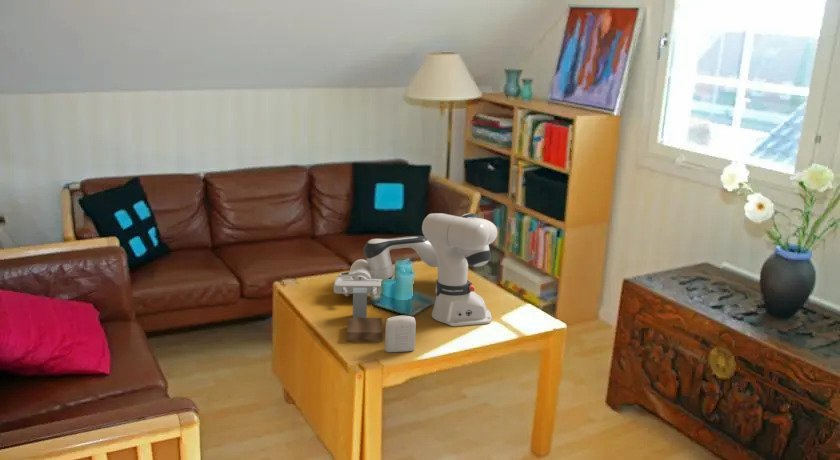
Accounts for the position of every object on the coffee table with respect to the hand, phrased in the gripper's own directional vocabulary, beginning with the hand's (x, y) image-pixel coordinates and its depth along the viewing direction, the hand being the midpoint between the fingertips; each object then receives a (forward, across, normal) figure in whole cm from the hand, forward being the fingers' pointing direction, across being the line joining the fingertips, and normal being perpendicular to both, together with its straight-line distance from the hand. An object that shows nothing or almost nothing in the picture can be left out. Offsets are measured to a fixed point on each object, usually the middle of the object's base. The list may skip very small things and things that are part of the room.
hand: (359, 294), depth 276 cm
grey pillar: (+9, 0, -6) cm, 11 cm away
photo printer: (+35, -14, -6) cm, 38 cm away
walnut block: (+23, -2, -6) cm, 24 cm away
